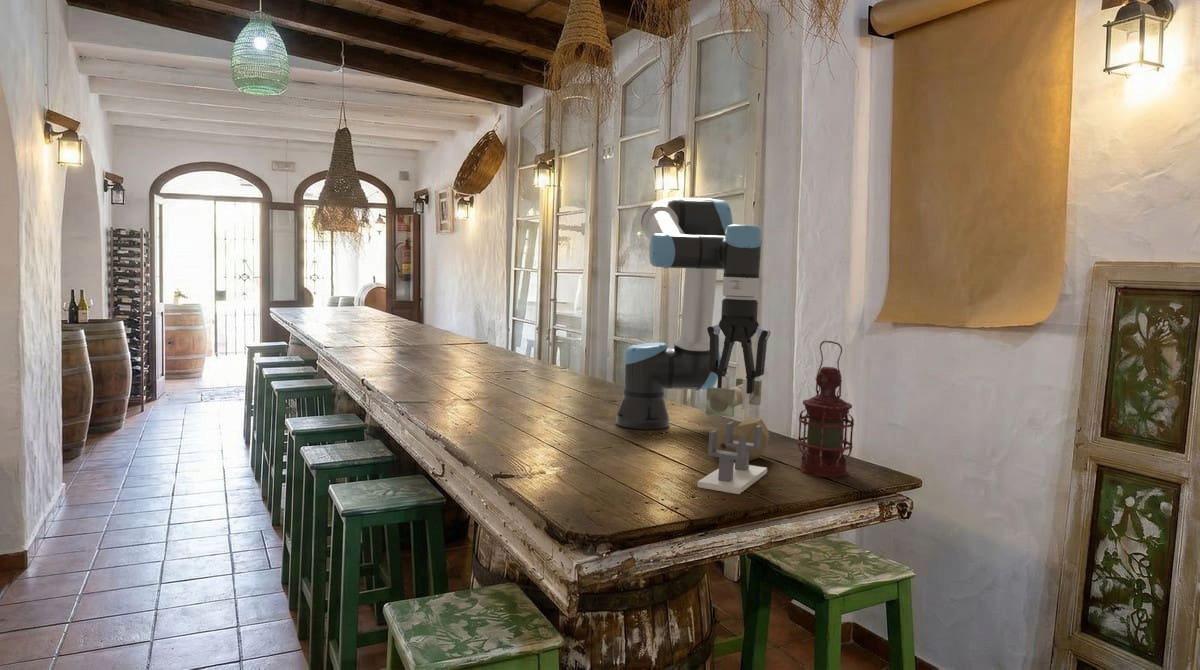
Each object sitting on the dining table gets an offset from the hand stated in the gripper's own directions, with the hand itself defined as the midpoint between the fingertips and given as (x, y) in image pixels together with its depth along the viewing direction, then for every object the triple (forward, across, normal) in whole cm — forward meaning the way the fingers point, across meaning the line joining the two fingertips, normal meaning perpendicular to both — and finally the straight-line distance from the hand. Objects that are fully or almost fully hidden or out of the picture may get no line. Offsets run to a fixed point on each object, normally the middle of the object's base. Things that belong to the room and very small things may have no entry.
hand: (734, 406), depth 172 cm
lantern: (+16, +15, +19) cm, 30 cm away
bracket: (+16, 0, 0) cm, 16 cm away
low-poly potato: (+16, -5, +20) cm, 26 cm away
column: (0, 0, 0) cm, 0 cm away
